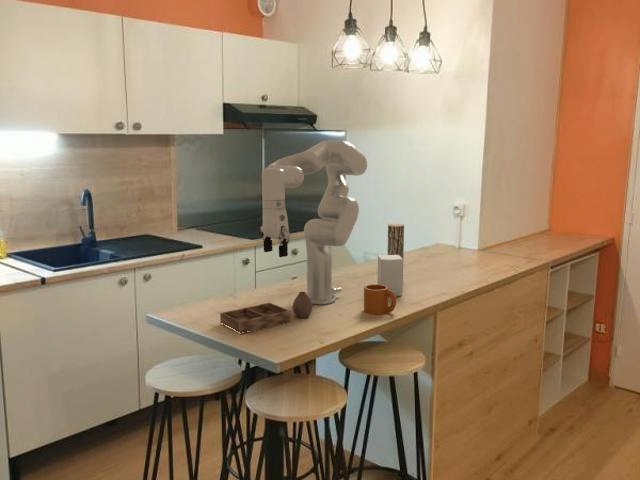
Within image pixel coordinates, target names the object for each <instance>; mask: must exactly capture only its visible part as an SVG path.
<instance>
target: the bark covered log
mask: <svg viewBox="0 0 640 480" xmlns="http://www.w3.org/2000/svg"><path fill="white" fill-rule="evenodd" d="M404 245H405V224H404V223H401V222H390V223H388V224H387V255H399V256H400V257H401V258H402V259H403V260H404V255H405V254H404V253H405V252H404V250H405V249H404Z"/></svg>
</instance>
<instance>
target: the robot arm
mask: <svg viewBox="0 0 640 480" xmlns="http://www.w3.org/2000/svg"><path fill="white" fill-rule="evenodd" d="M323 168H325V170H326V174H327V187H326V189H325V192H324V194H323V196H322V198H321V200H320V203H319V204H318V209H317V214H318V216H319V217H320V218H312V219H310V220H308V221H307V222H306V223H305V224H304V227H303V228H304V229H303V236H304V241H305V246H306V247H305V248H306V288H307V289H306V294H307V296H308V297H309V298H310V300H311V302H312V305H329V304H333V303H334V302H336V300H337V297H336V295H335V294H337V293H341V292H342V287H340V286H339V287H334V286H333V271H332V270H333V268H332V267H333V257H332V256H333V255H332V252H331V250H330V247H344V245H346V244H347V243H348V240H349V239H350V237H351V234H352V231H353V229H354V228H355V225H356V222H357V220H358V217H359V213H360V208H359V204H358V201H357V200H356V199H355V198H353V197H349V196H348V195H349V191H350V189H349V185H348V184H349V183H347V181H346V179H345V176H361V175H364V173H365V172H366V171H367V168H368V159H367V157H366V156H365V155H364V153H363V152H362V151H360V150H359V149H358V148H356V147H355V146H354V145H353V144H352V143H350V142H348V141H346V140H335V139H334V140H329V139H328V140H321V141H320V142H318V143H316V144H315V145H313V146H311V147H310V148H308V149H307V150H304V151H302V152H298V153H294V154H291V155H288V156H285V157H282V158H280V159H277V160H275V161H274V162H272V163H270V164H268V165H267V167H266V168H263V169H262V171H261V187H262V188H261V190H262V192H261V193H262V224H261V226H260V227H259V229H260V231H261V236H262V241H263V252H264V253H268V252H269V253H270V252H272V251H273V239H274V240H277V241H278V244H279V245H278V257H279V258H284V257H288V255H289V253H288V251H289V248H288V245H289V242H290V238H291V233H290V229H289V227H290V226H289V220H288V219H289V218H288V212H287V209H286V188H290V189H291V188H292V189H294V188H298V187H300V186H301V185H302V184H303V182H304V179H305V176H307V175H312V174H315V173H317V172H318V171H320V170H322V169H323Z"/></svg>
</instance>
